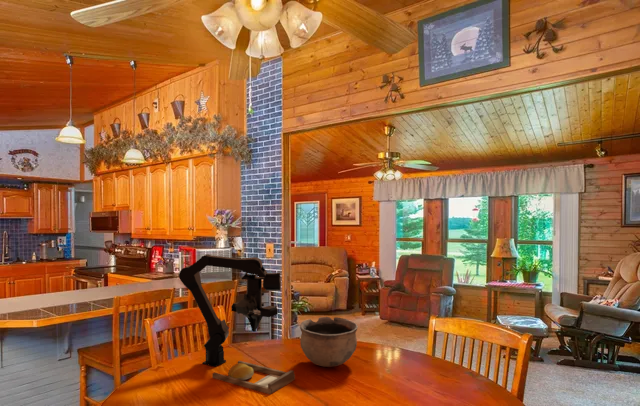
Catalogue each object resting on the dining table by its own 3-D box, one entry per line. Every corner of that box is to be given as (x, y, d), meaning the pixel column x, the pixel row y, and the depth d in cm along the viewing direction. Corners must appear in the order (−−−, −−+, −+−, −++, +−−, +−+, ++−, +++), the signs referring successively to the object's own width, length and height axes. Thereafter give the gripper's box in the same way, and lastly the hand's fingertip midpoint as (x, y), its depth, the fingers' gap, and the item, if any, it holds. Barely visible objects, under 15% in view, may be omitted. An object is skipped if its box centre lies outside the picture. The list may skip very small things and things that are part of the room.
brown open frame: (212, 378, 146) (212, 369, 146) (239, 365, 158) (239, 356, 158) (270, 395, 133) (270, 385, 133) (294, 379, 146) (294, 370, 146)
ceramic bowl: (345, 350, 174) (345, 314, 174) (367, 370, 154) (367, 329, 154) (293, 357, 167) (293, 319, 167) (309, 378, 147) (309, 335, 147)
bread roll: (237, 383, 141) (237, 371, 141) (225, 376, 148) (224, 364, 148) (258, 376, 146) (258, 364, 147) (246, 369, 153) (245, 358, 153)
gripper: (221, 291, 159) (221, 333, 159) (260, 297, 150) (260, 341, 150) (241, 287, 169) (241, 325, 169) (278, 291, 159) (278, 333, 159)
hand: (254, 331), depth 161 cm, fingers closed
